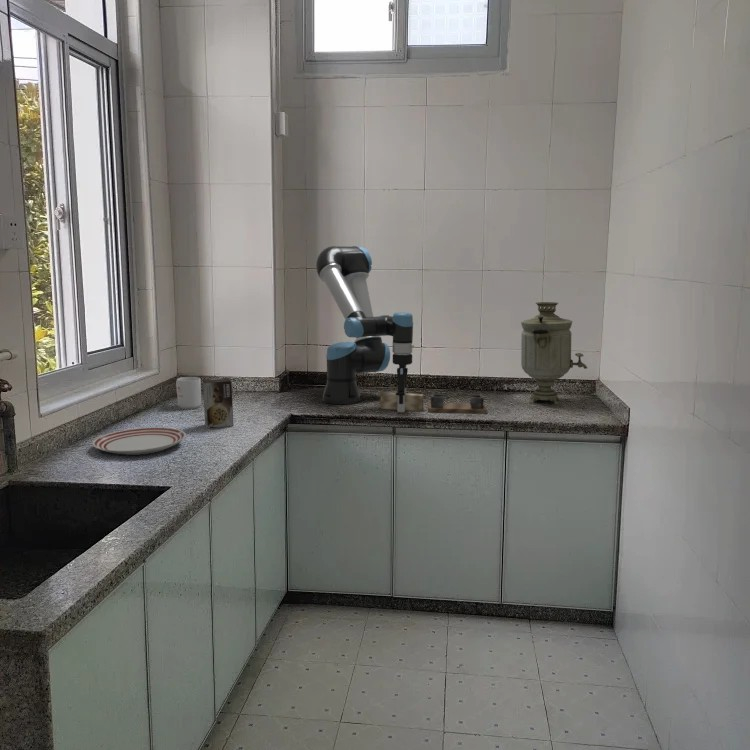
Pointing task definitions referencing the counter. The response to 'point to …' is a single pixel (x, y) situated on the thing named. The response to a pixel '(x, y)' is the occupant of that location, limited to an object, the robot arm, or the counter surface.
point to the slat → (411, 401)
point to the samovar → (547, 350)
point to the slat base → (457, 405)
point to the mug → (189, 392)
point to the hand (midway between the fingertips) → (401, 408)
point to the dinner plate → (139, 440)
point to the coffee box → (218, 402)
